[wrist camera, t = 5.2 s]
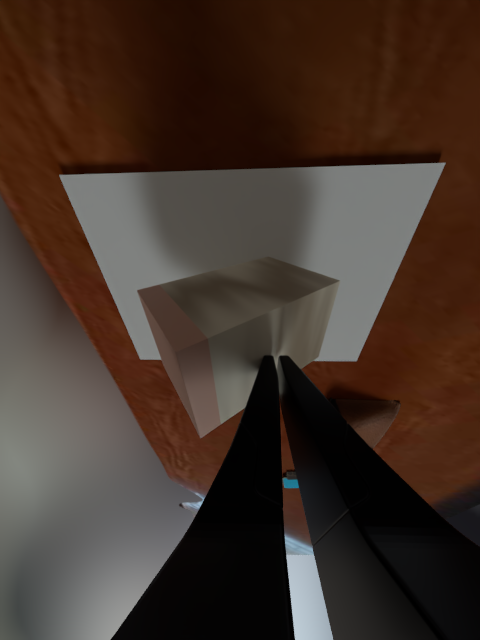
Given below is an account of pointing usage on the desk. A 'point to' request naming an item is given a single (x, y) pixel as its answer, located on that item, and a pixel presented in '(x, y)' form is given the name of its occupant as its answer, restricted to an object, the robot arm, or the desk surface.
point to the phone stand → (290, 480)
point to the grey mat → (255, 232)
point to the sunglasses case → (368, 416)
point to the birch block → (235, 330)
